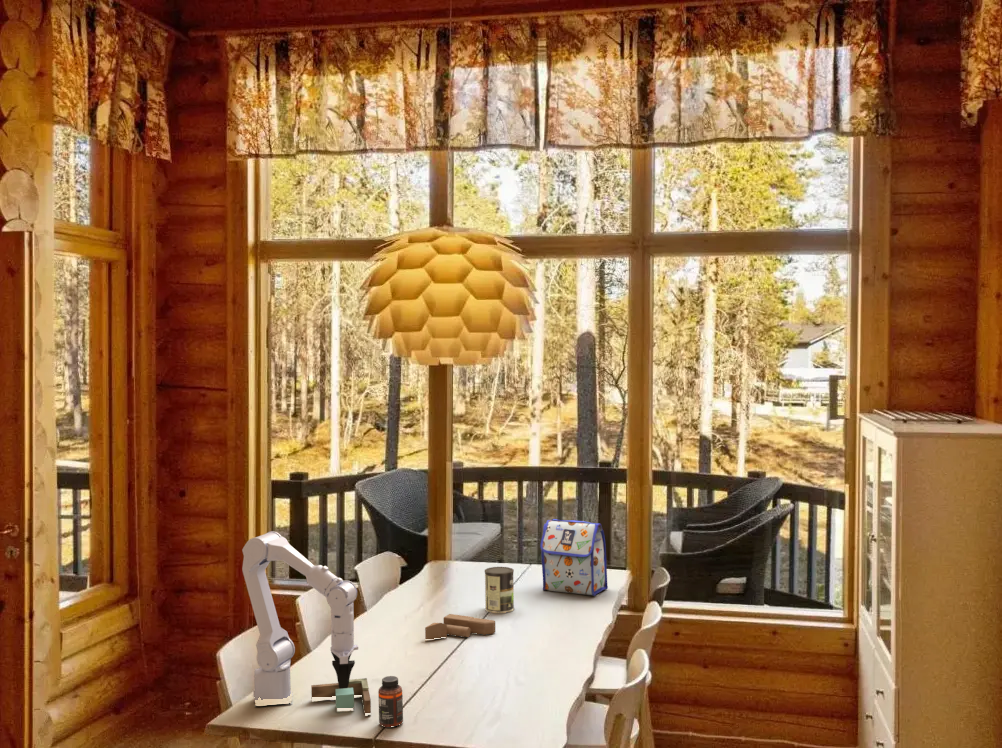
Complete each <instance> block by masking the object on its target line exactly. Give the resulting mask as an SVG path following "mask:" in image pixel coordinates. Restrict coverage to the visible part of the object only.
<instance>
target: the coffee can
mask: <svg viewBox="0 0 1002 748" xmlns="http://www.w3.org/2000/svg"><path fill="white" fill-rule="evenodd" d="M484 580H485V581H484V583H485V584H484V585H485V586H484V587H485V588H484V589H485V591H484V592H485V594H484V597H485V609H486V610H487V611H488V613H490V612H491V614H507V613H506V612H508V613H511V612H513V611H514V610H515V605H514V603H515V602H514V598H515V597H514V596H515V595H514V594H515V593H514V569H513V568H511V567H508V566H492V567H487V568H486V569H484ZM486 610H485V611H486ZM487 611H486V612H487Z"/></svg>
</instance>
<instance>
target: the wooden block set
mask: <svg viewBox="0 0 1002 748" xmlns="http://www.w3.org/2000/svg"><path fill="white" fill-rule="evenodd" d="M424 628H425V629H424V631H425V634H424V635H425V636H424V637H425V638H424V640H425V639H434V638H441V637H447V638H448V636H451V635H456V636H455V637H458V636H462V637H461V638H465V637H468V638H469V637H470V636H471V634H472V633H477V634H476V635H479V634H483V635H482V636H487V635H486V634H490V635H494V634H495V633H496V620H495V619H486V618H479V617H473V616H469V615H460V614H452V613H449V614H447V615H445V616H444V617H443V622H432V623H431V624H429V625H427V626H426V627H424ZM447 634H449V635H447Z"/></svg>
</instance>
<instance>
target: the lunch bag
mask: <svg viewBox="0 0 1002 748" xmlns="http://www.w3.org/2000/svg"><path fill="white" fill-rule="evenodd" d="M540 540H541V541H540V545H539V547H540V550H541V551H540V552H541V554H540V555H541V568H542V569H541V570H542V571H541V572H542V573H541V574H542V591H546V590H547V591H550V592H559V593H569V594H578V595H585V596H593V597H596V595H597V594H599V593H601V592H602V591H604V590H605V589H606V590H607V589H608V588H609V586H608V570H607V566H608V565H607V547H606V539H605V532H604V530H603V527H602V524H601V523H599V522H598V523H597V522H595V523H594V522H589V521H583V520H576V519H575V520H574V519H573V520H570V519H569V520H563V519H561V520H560V519H556V518H553V519H547V520H546V523H544V524H543V529H542V537H541V539H540Z"/></svg>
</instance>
